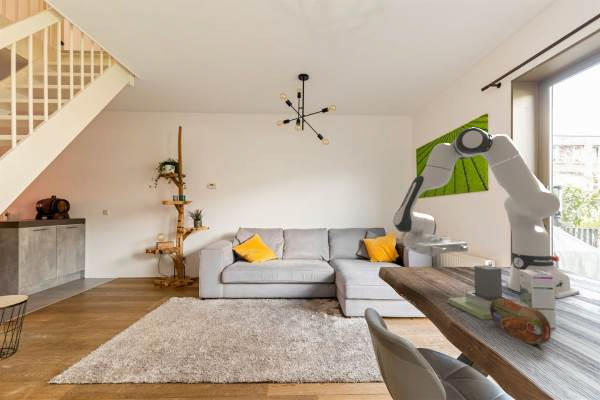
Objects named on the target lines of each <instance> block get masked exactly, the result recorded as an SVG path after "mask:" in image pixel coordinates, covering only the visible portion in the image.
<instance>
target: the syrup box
mask: <svg viewBox="0 0 600 400" xmlns="http://www.w3.org/2000/svg"><path fill="white" fill-rule="evenodd" d="M519 276H520V292H519V296H520V297H519V298H520V300H519V301H520V302H519V303H521V304H524V305H526V306H529V307H532V308H534V309H537V310H538V311H540V312H541V313H542V314H543V315H544V316H545V317H546V318H547V320H548V322H549V324H550V329H557V320H556V319H557V314H556V298H555V291H554V275H551V274H549V273H546V272H543V271H540V270H519Z"/></svg>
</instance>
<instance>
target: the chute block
mask: <svg viewBox="0 0 600 400" xmlns="http://www.w3.org/2000/svg"><path fill="white" fill-rule="evenodd" d="M473 268H474V292H475V295H477V296H479V297H482V298H484V299H487V300H494V299H496V298H502V296H503V291H502V290H503V289H502V288H503V287H502V284H503V281H502V280H503V279H502V268H499V267H496V266H491V265H487V264H485V265H474V267H473Z"/></svg>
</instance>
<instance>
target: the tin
mask: <svg viewBox="0 0 600 400" xmlns="http://www.w3.org/2000/svg"><path fill="white" fill-rule="evenodd" d="M511 299H512V298H510V299H506V298H496V299H494V300H493V301H492V303H491V307H490V312H491V316H492V319H491V320H492V321H493V323H494V324H495V325H496V326H497V328H499V329H500V330H502V331H503V332H505V333H507V334H509V335H511V336H512V337H515V338H517V339H518V340H520V341H521V342H524V343H525V344H529V345H543V344H546V343H548V342H549V340H550V338H551V333H552V332H551V331H552V330H551V328H550V324H549V322H548V320H547V318H546V317H545V316H544V315H543V314H542V313H541V312H540V311H538V310H537V309H534V308H532V307H529V306H526V305H524V304H521V303H520V302H518V301H516V300H513V299H512V300H511Z"/></svg>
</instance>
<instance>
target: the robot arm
mask: <svg viewBox="0 0 600 400" xmlns="http://www.w3.org/2000/svg"><path fill="white" fill-rule="evenodd" d="M477 155H479V156H481V157H483V159H484V160H485V161H486V162H487V164H488V166H489V168H490V170H491V172H492V174H493V176H494V178H495V179H496V181H497V183H498V184H499V186H501V188H502V189H504V190H505V191H506V193H507V194H508V195H509V196H508V197H507V198H505V200H504V203H503V204H504V205H503V207H504V209H505V210H506V214H507V218H508V222H509V226H510V231H511V245H512V246H511V247H512V249H511V250H512V252H511V255H510V258H511V262H512V263H511V265H510V269H509V279H508V280H507V285H508V286H507V287H508V288H509V289H511V290H513V291H515V292H519V293H520V276H519V270H540V271H543V272H546V273H549V274H551V275H554V291H555V299H561V298H565V297H570V296H574V295H578V294H580V290H579V289H576V288H575V287H571V281H570V278H569V277H570V276H569V275H567V274H565V273H564V272H563V271H562V270H561V269H559V268H558V267H557V266H555V263H554V262H556V263H557V262H558V263H559V256H556V255H555V256H554V255H551V254H550V234H549V233H548V231H547V230H546V227H545V225H544V221H543V220H544V219H548V218H550V217H552V216H555V214H557V213H558V212H559V210H560V208H561V201H560V199H559V198H558V195H557V196H556V194H554V193H553V192H551V191H550V190H548V189H547V188H546V186H545V185H544V184H543V183H542V182H541V181H540V180H539V179H538V178H537V177H536V175H535V174H534V173H533V171H532V170H531V169H530V166H529V164H528V163H527V162H526V159H525V157H524V156H523V154H522V152H521V151H520V149H519V148H518V146H517V145H516V143H514V141H513V140H512V139H511V138H510V137H509V136H508V135H507V134H504V133H503V134H502V133H500V134H495V135H492V134H490V133H488V132H486V131H484V130H483V129H481V128H479V127H468V128H465V129H463V130H462V131H460V132H459V133H458V135H457V136H455V139H454V141H453V142H451V143H446V142H441V143H437V144H436V145H434V146H433V148H432V150H431V152H430V153H429V155H428V159H427V161H426V164H425V167H424V169H423V171H422V173H421V174H420V175H418V176H416V177H415V178H414V179H413V181H412V182H411V184H410V186H409V188H408V190H407V192H406V195H405V197H404V198H403V201H402V203H401V205H400V207H399V208H398V210H397V211H396V213H395V214H394V217H393V221H392V222H393V225H394V227H395V228H396V229H397V231H398V232H400V233H406V234H404V236H403V237H402V244H403V246H404V247H405V248H406V249H407V250H409V251H411V252H414V253H417V254H421V255H424V256H429V257H437V256H438V255H439V256H440V255H442V254H447V253H459V252H462V253H463V252H464V253H465V252H468V251H469V247H468V243H467V242H466V241H465V240H464V241H463V240H460V239H456V238H451V237H450V236H438V235H435V234H436V231H437V222H436V220H435V218H434V216H432V215H431V214H426V213H421V212H417V211H414V208H415V207H416V204H417V202H418V200H419V197H420V196H421V195H422V194H423V193H425V192H427V191H429V190H435V189H439V188H443V187H444V186H446V185H447V184H448V183H449V182H450V180H451V178H452V175H453V172H454V167H455V165H456V163H457V161H458V160H462V159H464V160H465V159H470V158H474V157H476V156H477Z"/></svg>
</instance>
